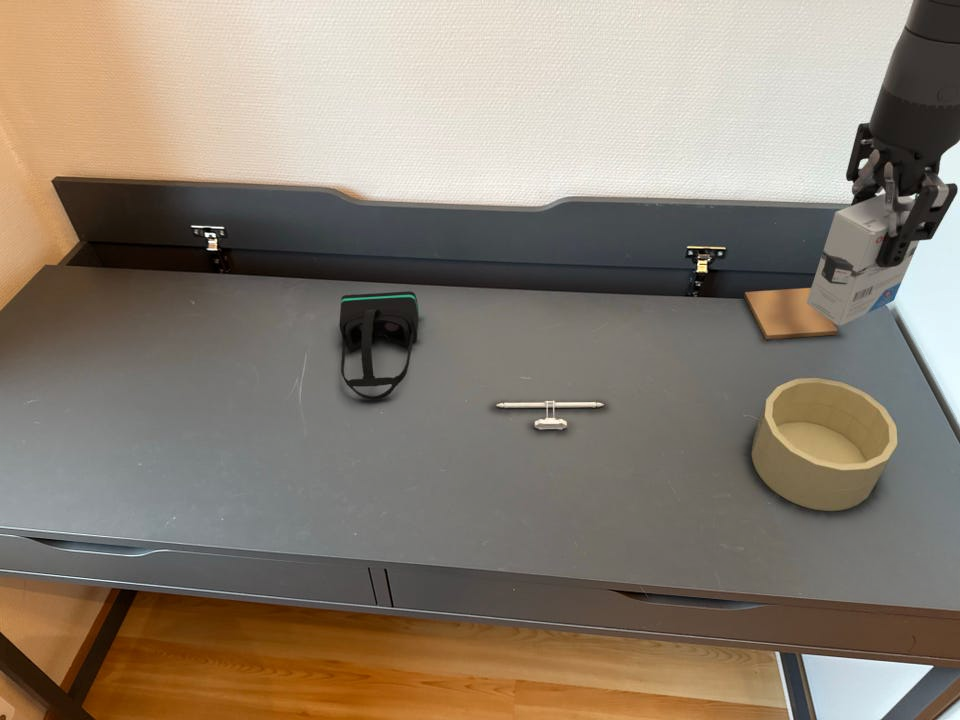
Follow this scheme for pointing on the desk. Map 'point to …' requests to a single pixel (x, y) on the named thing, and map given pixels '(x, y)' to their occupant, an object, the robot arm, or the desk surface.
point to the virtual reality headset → (377, 331)
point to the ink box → (857, 263)
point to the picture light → (548, 422)
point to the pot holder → (787, 314)
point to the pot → (822, 443)
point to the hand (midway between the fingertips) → (870, 245)
